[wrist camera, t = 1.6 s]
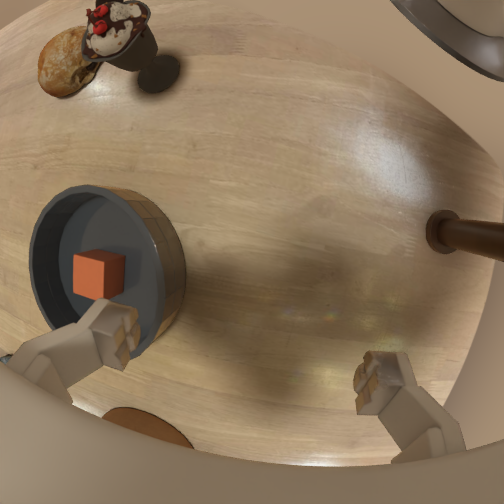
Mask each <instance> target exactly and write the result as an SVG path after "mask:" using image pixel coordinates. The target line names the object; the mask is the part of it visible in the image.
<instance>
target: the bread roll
mask: <svg viewBox="0 0 504 504" xmlns="http://www.w3.org/2000/svg"><path fill="white" fill-rule="evenodd" d="M86 29H87V27H86V26H80V27H79V26H78V27H73V28H70V29H68V30H66V31H64V32H62V33H60V34H58V35H56V36H55V37H54V38H53V39H51V40H50V41H49V42H48V43H47V44H46V46H45V47H44V48H43V50H42V52H41V53H40V56H39V60H38V82H39V84H40V86H41V88H42V89H43V90H44V91H45V92H46V93H48V94H50V95H51V96H54V97H61V96H66V95H68V94H71V93H73V92H75V91H77V90H78V89H80V88H81V87H82V86H83V85H84V84H85V83H89V82H90V81H91V80H92V79H93V76H94V74H95V71H96V69H97V67H98V66H99V64H100V62H89V61H86V60H85V59H84V58H83V57H82V52H81V43H82V38H83V35H84V33H85V31H86Z"/></svg>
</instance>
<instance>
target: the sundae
mask: <svg viewBox="0 0 504 504" xmlns="http://www.w3.org/2000/svg"><path fill="white" fill-rule="evenodd" d="M86 10H87V15H86V16H88V23H87V29H86V31H85V33H84V35H83V38H82V43H81V52H82V57H83V58H84V59H85V60H86V61H89V62H104V61H106V62H108V63H110V64H112V65H114V66H116V67H118V68H121V69H124V70H127V71H131V72H134V71H139V70H140V72H139V75H138V84H139V87H140V88H141V89H142V90H143V91H144V92H147V93H156V92H160V91H162V90H164V89H166V88H168V87H169V86H170V85H171V84H172V83H173V82H174V81H175V79H176V78H177V75H178V73H179V64H178V61H177V60H176V59H175V58H174V57H172V56H169V55H161V56H156V54H157V50H158V46H157V43H156V41H155V38H154V36H153V34H152V32H151V30H150V28H149V26H148V25H147V22H148V20H149V18H150V15H151V12H150V9H149V8H148V6H147V5H146V4H144V3H142V2H140V1H137V0H130V1H125V2H123V0H96V9H95V10H94V11H91V10H90V9H86ZM155 56H156V57H155Z"/></svg>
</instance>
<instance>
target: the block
mask: <svg viewBox="0 0 504 504" xmlns="http://www.w3.org/2000/svg"><path fill="white" fill-rule="evenodd" d="M124 267H125V256H124V255H120V254H116V253H111V252H107V251H103V250H98V249H94V250H90V251H85V252H81V253H77V254H74V260H73V293H76V294H79V295H82V296H84V297H87V298H90V299H93V300H97V299H98V298H101V297H102V298H105V299H108V300H109V299H111V298H113V297H115V296H117V295H119V294H120V293H122V292H123V284H124Z"/></svg>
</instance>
